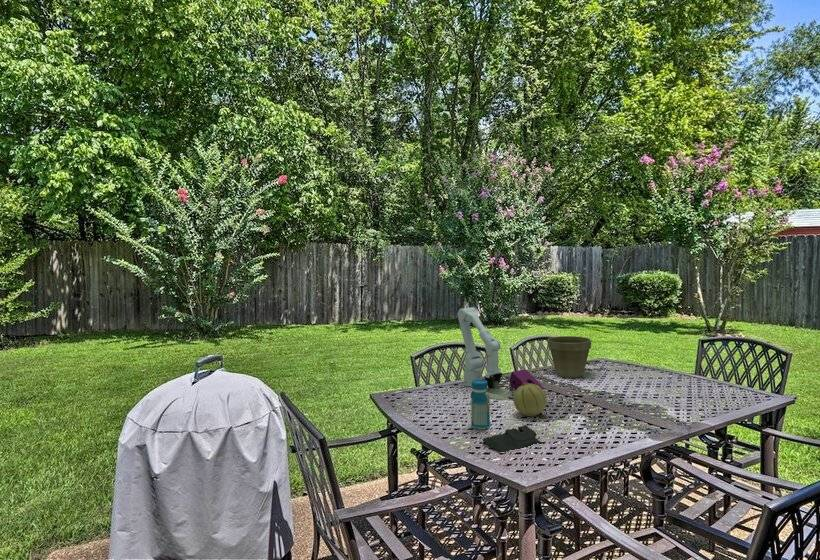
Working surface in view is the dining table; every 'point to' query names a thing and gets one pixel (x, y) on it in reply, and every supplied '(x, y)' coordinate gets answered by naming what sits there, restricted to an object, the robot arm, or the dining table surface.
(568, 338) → the plant pot
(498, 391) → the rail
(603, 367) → the dining table surface
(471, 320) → the robot arm
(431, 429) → the dining table surface
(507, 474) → the dining table surface
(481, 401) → the beverage bottle
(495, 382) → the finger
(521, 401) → the cantaloupe
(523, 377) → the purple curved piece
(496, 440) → the dark slate chunk
